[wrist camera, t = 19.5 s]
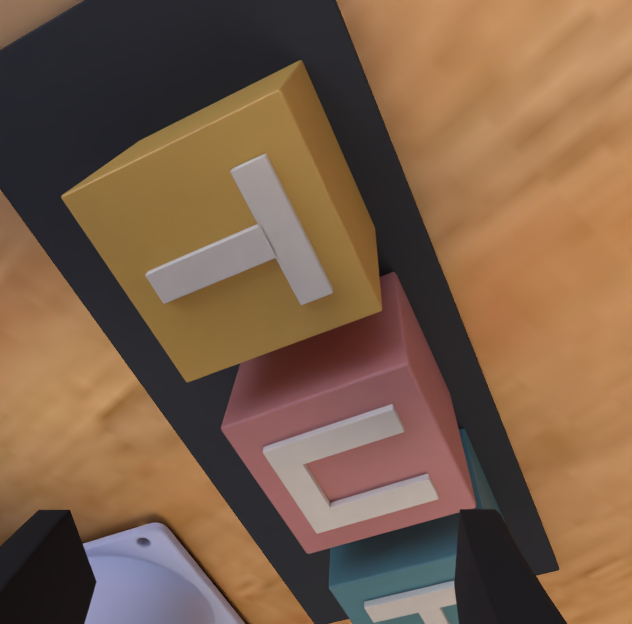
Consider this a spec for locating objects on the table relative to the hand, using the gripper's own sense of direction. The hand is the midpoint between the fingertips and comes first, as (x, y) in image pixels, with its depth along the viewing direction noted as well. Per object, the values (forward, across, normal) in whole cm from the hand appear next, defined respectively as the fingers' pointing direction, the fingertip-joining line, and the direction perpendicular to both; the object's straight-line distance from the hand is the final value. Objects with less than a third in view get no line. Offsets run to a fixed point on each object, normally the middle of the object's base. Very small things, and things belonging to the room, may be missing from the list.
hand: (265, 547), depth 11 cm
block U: (+8, -2, +1) cm, 8 cm away
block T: (+8, +1, -5) cm, 9 cm away
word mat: (+8, 0, +2) cm, 8 cm away
